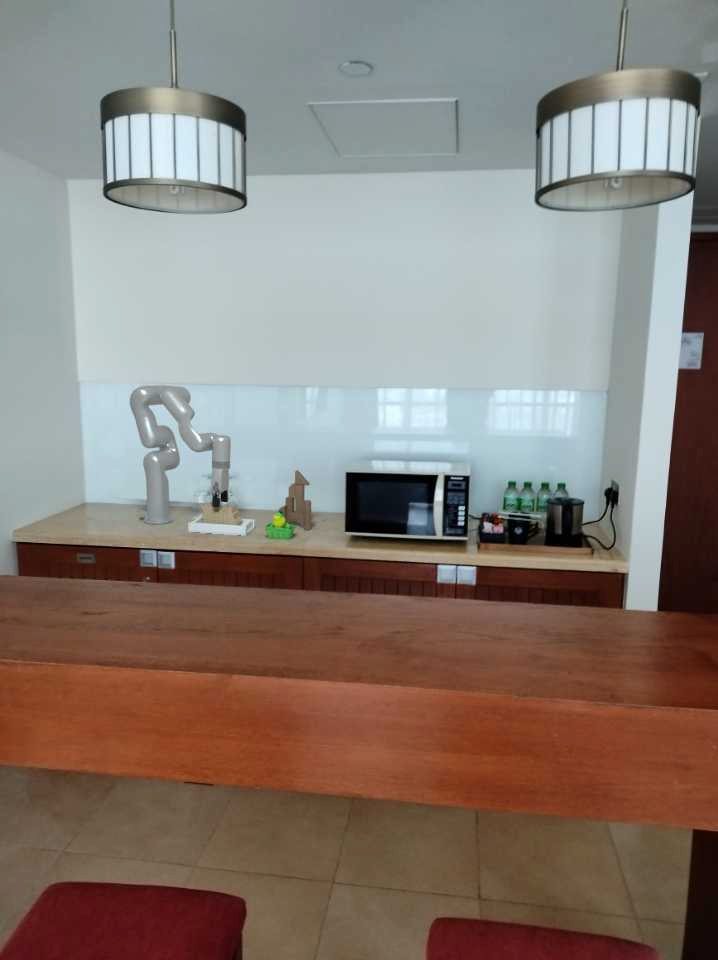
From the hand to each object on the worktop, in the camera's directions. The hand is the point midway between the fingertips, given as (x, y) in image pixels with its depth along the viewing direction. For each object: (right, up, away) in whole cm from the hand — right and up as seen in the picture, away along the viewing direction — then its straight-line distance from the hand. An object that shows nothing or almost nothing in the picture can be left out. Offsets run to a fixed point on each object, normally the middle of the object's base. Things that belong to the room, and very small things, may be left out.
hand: (220, 504), depth 290 cm
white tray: (+1, -11, +2) cm, 11 cm away
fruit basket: (+26, -14, -8) cm, 31 cm away
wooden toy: (+31, -11, +10) cm, 35 cm away
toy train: (+1, -10, +1) cm, 10 cm away
